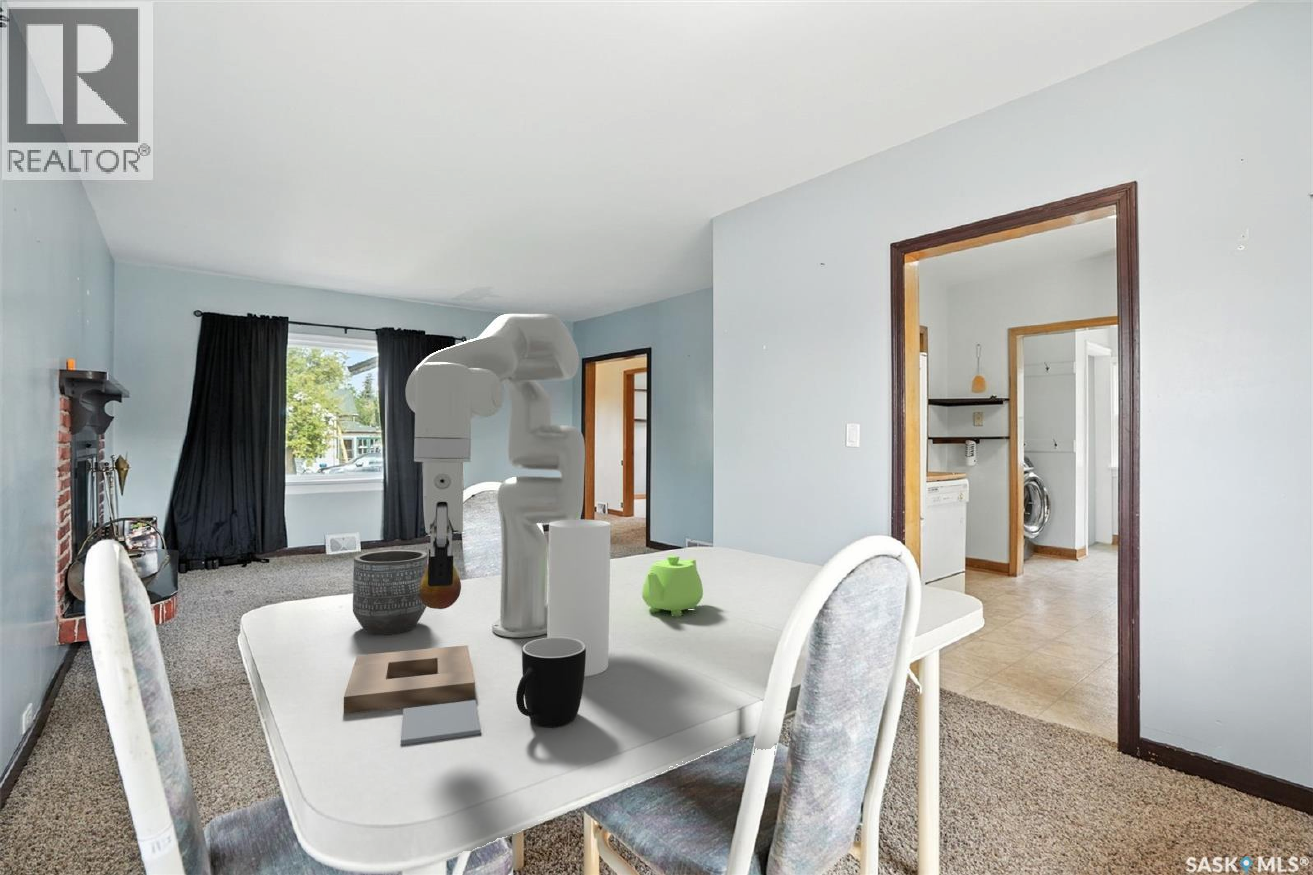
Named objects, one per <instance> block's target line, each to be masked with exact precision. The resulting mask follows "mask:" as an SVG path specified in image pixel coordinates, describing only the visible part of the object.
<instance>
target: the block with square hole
mask: <svg viewBox="0 0 1313 875" xmlns="http://www.w3.org/2000/svg"><path fill="white" fill-rule="evenodd" d="M475 687H476V682H475V676H474V670H473V666H472V660H471V655H470V649H469V645H468V644H467V645H456V646H446V647H445V646H443V647H434V648H423V649H413V650H412V649H410V650H401V651H390V652H389V651H388V652H380V653H379V652H378V653H368V654H358V655H356V657H355V661H354V664H353V667H352V670H351V673H350V676H349V679H348V682H347V686H346V689H345V691H344V695H343V715H348V714H349V715H350V714H357V713H369V712H374V711H375V712H376V711H384V710H389V709H390V710H391V709H399V708H400V709H401V708H411V707H419V706H427V705H436V704H444V703H453V702H461V701H469V700H476V699H475V698H476V697H475V696H476V694H475V692H476V691H475V689H476V688H475Z"/></svg>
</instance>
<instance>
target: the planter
mask: <svg viewBox="0 0 1313 875" xmlns="http://www.w3.org/2000/svg"><path fill="white" fill-rule="evenodd" d="M428 556H429V553H428V552H427V551H423V550H413V549H387V550H377V551H369V552H363V553H360V554H358V555H355V556H354V558H353V576H352V578H353V579H352V580H353V581H352V588H353V590H352V591H353V593H352V612H353V615H354V616H355V619H356V620H357V622H358V623H359V625H360V626H361V628H362V629H363V630H364V631H365V632H366V633H367V634H370V635H371V634H372V635H384V636H385V635H395V634H400V633H406V632H408V631H410V630H412V629H414V628H415V627H416V625H417V624H418V622H419V621H420V619H421V618H422V616H423V614H424V612H425V610H426V608H428V607H427V606H426V605H424V604H423V602H422V601H421V598H420V594H419V587H420V583H421V580H422V578H423V576H424V574H425V571H426V568H427V566H428Z"/></svg>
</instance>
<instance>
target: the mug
mask: <svg viewBox="0 0 1313 875" xmlns="http://www.w3.org/2000/svg"><path fill="white" fill-rule="evenodd" d="M585 661H586V646H585V644H584V643H583V642H581V641H579V640H576V639H572V638H565V637H550V638H547V637H543V638H542V637H541V638H539V639H534V640H531V641H528V642H527V643H525V644H524V645H523V647H522V650H521V665H522V666H521V667H522V677H521V678H520V680H519V682H518V685H517V688H516V689H517V690H516V694H515V696H516V697H515V699H516V700H515V701H516V702H515V703H516V706H517V709H518V711H519V712H520V713H521V714H522V715H524V716H525V717H529V720H530V721H531V722H532V723H533V724H534V725H536V726H538V727H544V728H557V727H563V726H566V725H568V724H570V723H572V722H573V721H574V720H575V718H576V717H577V715H578V713H579V710H580V706H581V703H582V702H581V701H582V696H583V689H584V682H585V677H584V674H585Z"/></svg>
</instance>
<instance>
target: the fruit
mask: <svg viewBox="0 0 1313 875" xmlns="http://www.w3.org/2000/svg"><path fill="white" fill-rule="evenodd" d="M453 531H454V530H453V527H452V532H453ZM434 552H435V547H434ZM434 556H435V554H434ZM447 556H448V553H447ZM461 590H462V583H461V579H460V576H459V574H458V572H457V570H456V567H455V565H454V564H453V584H452V585H449V586H429V585H428V566H427V568H426V571H425V574H424V576H423V578H422V580H421V583H420V587H419V594H420V598H421V601H422V602H423V604H424V605H426V606H427V607H426V608H429V609H433V610H435V609H437V610H445V609H448V608H450V607H452V606H453V605H454V604H455V603H456V601H457V600H458V599H459V597H460V595H461Z"/></svg>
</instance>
